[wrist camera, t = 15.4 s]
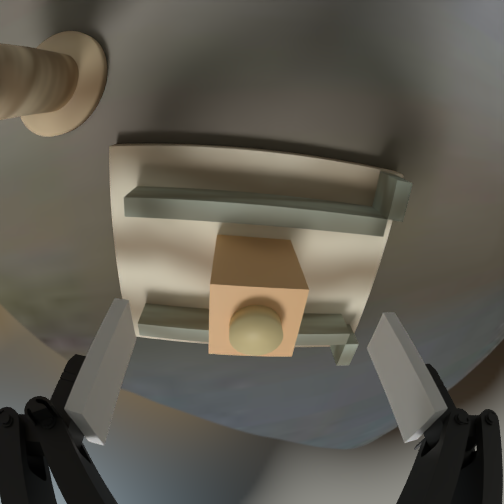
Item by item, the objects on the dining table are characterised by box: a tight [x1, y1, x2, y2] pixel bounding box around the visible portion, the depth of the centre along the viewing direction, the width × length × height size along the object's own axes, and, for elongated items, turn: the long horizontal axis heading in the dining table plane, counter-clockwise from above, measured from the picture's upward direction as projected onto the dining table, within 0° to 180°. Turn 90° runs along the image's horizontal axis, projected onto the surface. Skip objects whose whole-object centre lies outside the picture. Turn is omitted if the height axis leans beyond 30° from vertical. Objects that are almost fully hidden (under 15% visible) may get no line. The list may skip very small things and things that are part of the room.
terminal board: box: [109, 143, 412, 366], centre depth 20 cm, size 16×20×4 cm
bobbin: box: [0, 31, 107, 137], centre depth 9 cm, size 8×8×13 cm
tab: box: [209, 235, 309, 356], centre depth 18 cm, size 5×5×7 cm
